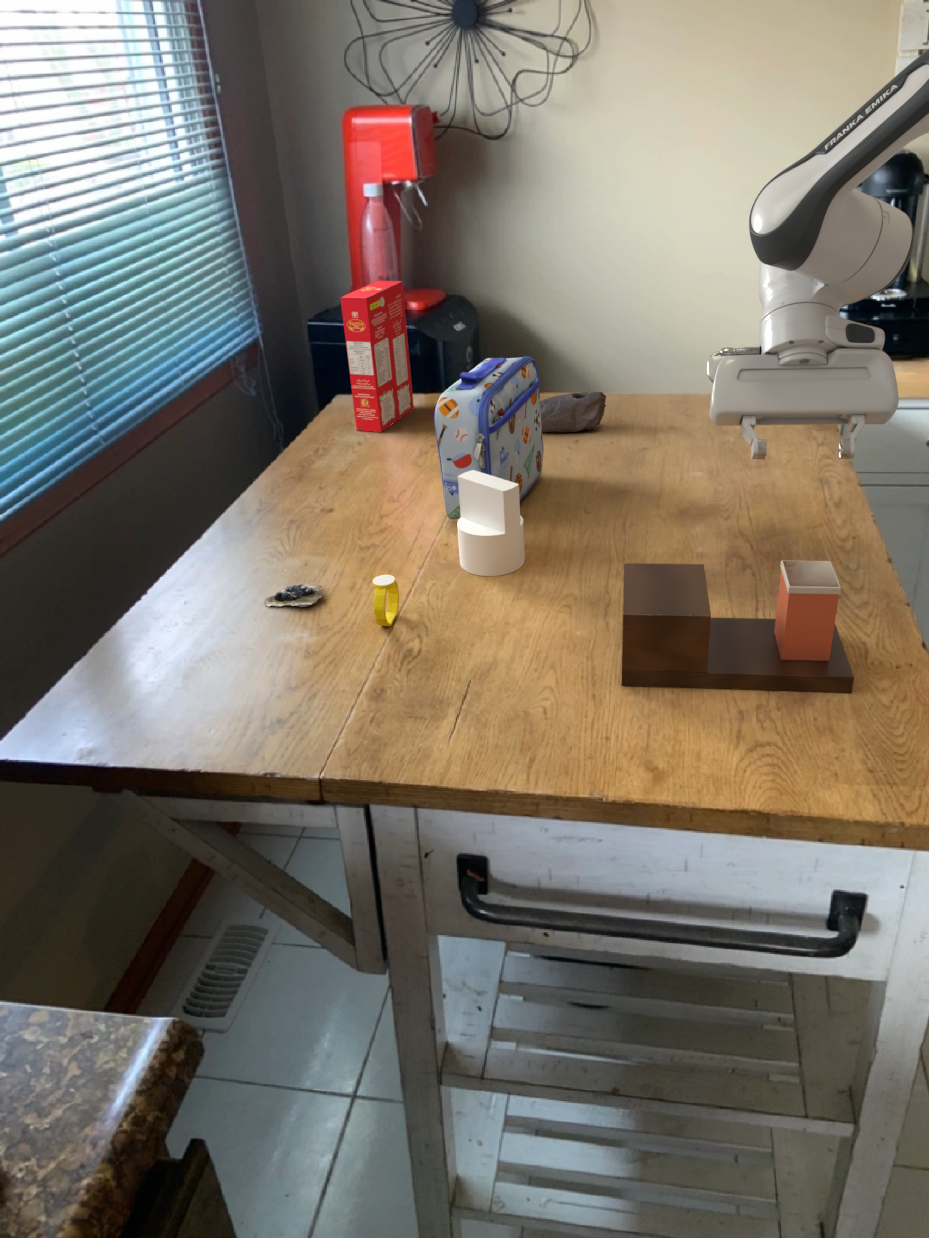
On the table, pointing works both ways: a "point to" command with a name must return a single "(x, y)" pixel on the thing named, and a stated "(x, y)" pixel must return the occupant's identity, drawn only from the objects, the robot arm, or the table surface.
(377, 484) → the table surface
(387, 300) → the food packaging
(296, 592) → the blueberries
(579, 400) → the perforated stone tool
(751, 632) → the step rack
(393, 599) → the watch
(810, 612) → the tapered rectangular bin
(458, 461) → the lunch box
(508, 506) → the cylinder with rectangular tab
